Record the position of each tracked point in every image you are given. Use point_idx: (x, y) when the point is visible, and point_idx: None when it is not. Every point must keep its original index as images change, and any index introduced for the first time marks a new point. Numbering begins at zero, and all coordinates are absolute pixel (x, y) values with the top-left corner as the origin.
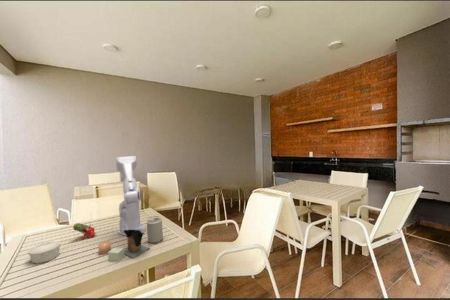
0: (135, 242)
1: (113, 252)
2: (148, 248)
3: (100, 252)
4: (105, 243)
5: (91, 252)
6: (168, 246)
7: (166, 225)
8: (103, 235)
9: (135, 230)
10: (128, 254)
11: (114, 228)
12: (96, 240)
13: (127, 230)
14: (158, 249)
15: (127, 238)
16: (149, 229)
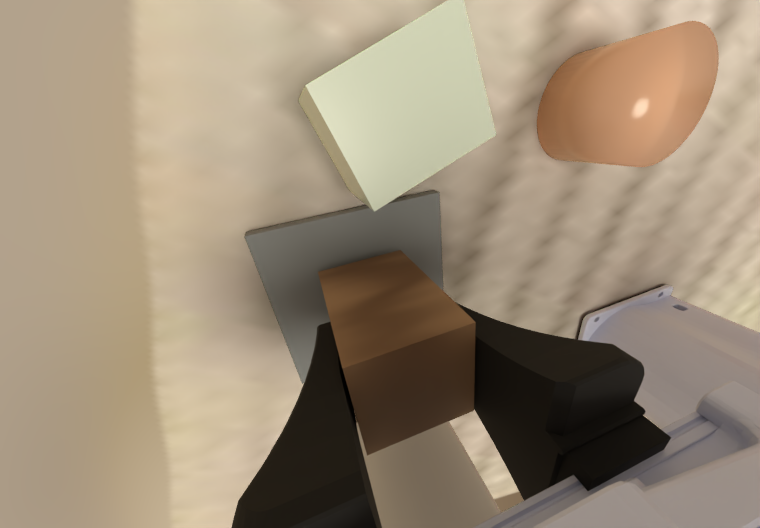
0: (321, 354)
1: (384, 47)
2: (299, 375)
3: (596, 48)
4: (660, 110)
5: (673, 19)
6: (227, 473)
7: (490, 483)
8: (735, 210)
9: (503, 460)
10: (338, 225)
11: (720, 285)
12: (742, 149)
13: (582, 416)
14: (239, 419)
15: (462, 315)
16: (427, 522)
